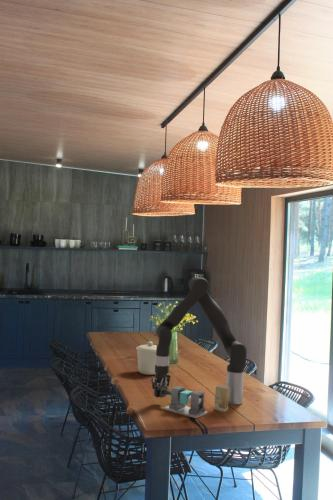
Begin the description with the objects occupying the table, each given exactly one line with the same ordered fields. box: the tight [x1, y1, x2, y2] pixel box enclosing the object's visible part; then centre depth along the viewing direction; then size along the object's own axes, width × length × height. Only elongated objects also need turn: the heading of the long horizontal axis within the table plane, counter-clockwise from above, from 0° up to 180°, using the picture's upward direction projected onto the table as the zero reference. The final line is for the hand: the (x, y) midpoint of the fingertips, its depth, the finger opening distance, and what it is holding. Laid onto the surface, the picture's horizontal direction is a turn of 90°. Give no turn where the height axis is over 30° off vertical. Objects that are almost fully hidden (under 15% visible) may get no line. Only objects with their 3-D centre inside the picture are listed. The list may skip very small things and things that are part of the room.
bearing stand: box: [162, 385, 208, 419], centre depth 260 cm, size 11×20×11 cm, turn 54°
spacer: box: [180, 389, 193, 406], centre depth 260 cm, size 6×4×6 cm, turn 144°
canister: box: [135, 340, 158, 376], centre depth 338 cm, size 18×18×21 cm
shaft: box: [153, 385, 202, 404], centre depth 263 cm, size 28×5×5 cm, turn 54°
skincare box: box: [213, 384, 230, 413], centre depth 266 cm, size 6×4×12 cm
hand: (160, 395), depth 269 cm, fingers closed on shaft, 5 cm apart
